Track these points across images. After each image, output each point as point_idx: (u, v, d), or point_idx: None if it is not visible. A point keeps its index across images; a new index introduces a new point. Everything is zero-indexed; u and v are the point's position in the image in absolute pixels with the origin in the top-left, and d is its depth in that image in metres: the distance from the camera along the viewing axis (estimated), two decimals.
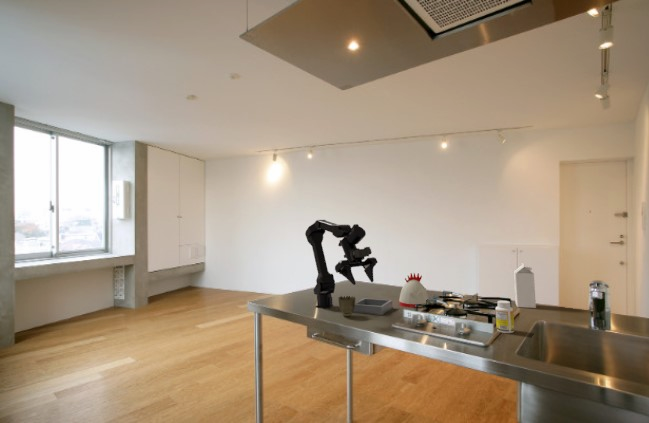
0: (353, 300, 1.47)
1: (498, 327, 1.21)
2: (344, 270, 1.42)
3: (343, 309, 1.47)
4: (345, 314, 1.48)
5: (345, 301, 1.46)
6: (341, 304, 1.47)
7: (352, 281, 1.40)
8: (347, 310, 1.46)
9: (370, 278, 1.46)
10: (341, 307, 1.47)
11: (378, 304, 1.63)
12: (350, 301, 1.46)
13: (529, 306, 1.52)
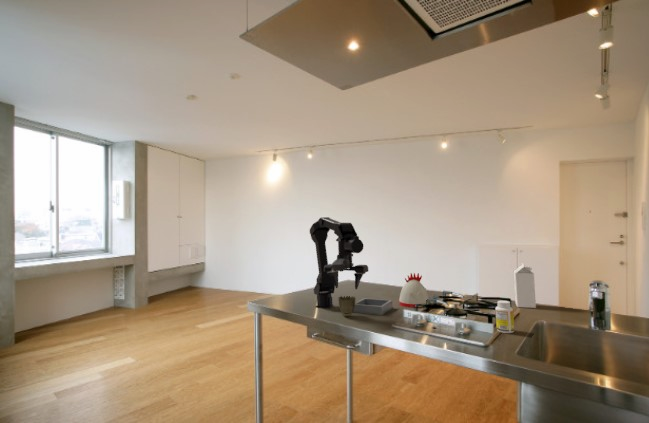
0: (353, 300, 1.47)
1: (498, 327, 1.21)
2: None
3: (343, 309, 1.47)
4: (345, 314, 1.48)
5: (345, 301, 1.46)
6: (341, 304, 1.47)
7: None
8: (347, 310, 1.46)
9: None
10: (341, 307, 1.47)
11: (378, 304, 1.63)
12: (350, 301, 1.46)
13: (529, 306, 1.52)
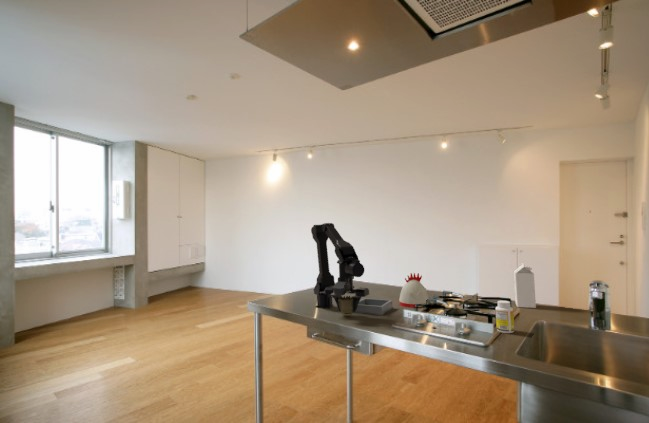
0: None
1: (498, 327, 1.21)
2: None
3: (343, 309, 1.47)
4: (345, 314, 1.48)
5: (345, 301, 1.46)
6: (341, 304, 1.47)
7: None
8: (347, 310, 1.46)
9: None
10: (341, 307, 1.47)
11: (378, 304, 1.63)
12: (350, 301, 1.46)
13: (529, 306, 1.52)
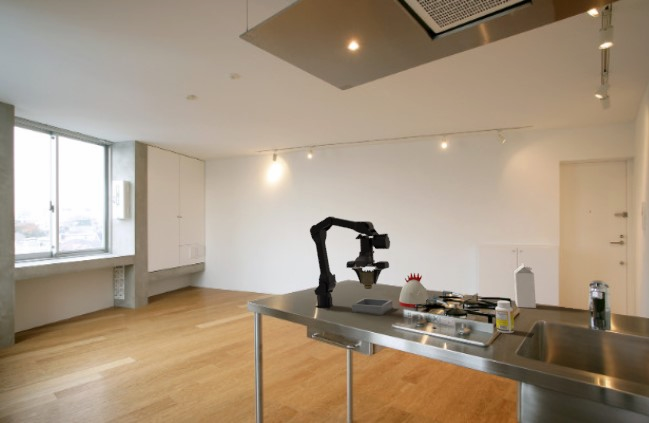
0: None
1: (498, 327, 1.21)
2: None
3: (364, 281, 1.55)
4: (366, 286, 1.56)
5: (366, 273, 1.54)
6: (362, 277, 1.55)
7: None
8: (368, 282, 1.54)
9: None
10: (362, 279, 1.55)
11: (378, 304, 1.63)
12: (371, 274, 1.54)
13: (529, 306, 1.52)
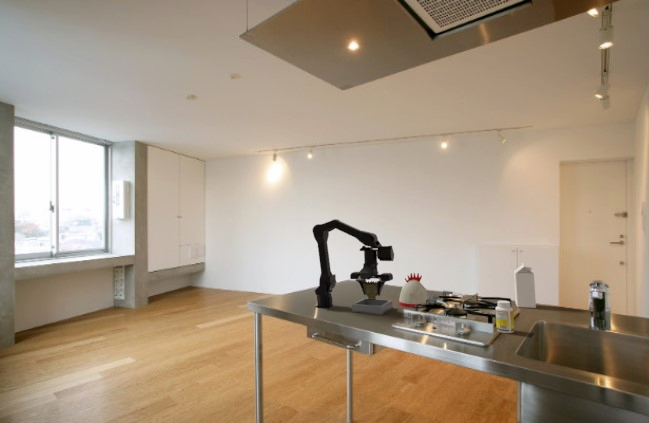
0: None
1: (498, 327, 1.21)
2: None
3: (368, 293, 1.56)
4: (370, 297, 1.57)
5: (370, 285, 1.55)
6: (366, 288, 1.56)
7: None
8: (372, 294, 1.56)
9: None
10: (366, 291, 1.57)
11: (378, 304, 1.63)
12: (375, 285, 1.56)
13: (529, 306, 1.52)
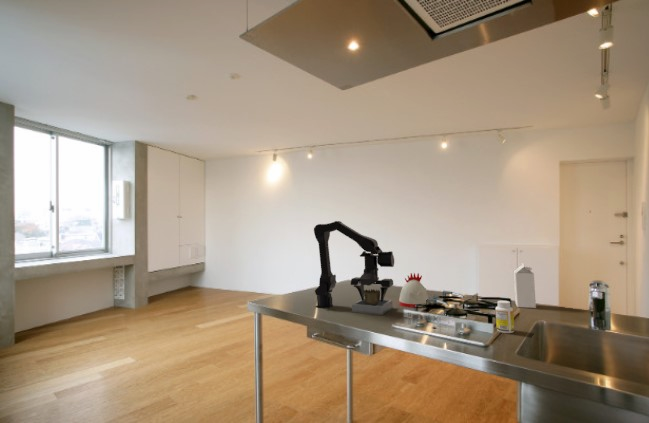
0: (378, 293, 1.56)
1: (498, 327, 1.21)
2: None
3: (369, 301, 1.56)
4: None
5: (371, 294, 1.55)
6: (367, 297, 1.56)
7: None
8: (373, 302, 1.55)
9: None
10: (367, 299, 1.56)
11: (378, 304, 1.63)
12: (375, 294, 1.55)
13: (529, 306, 1.52)
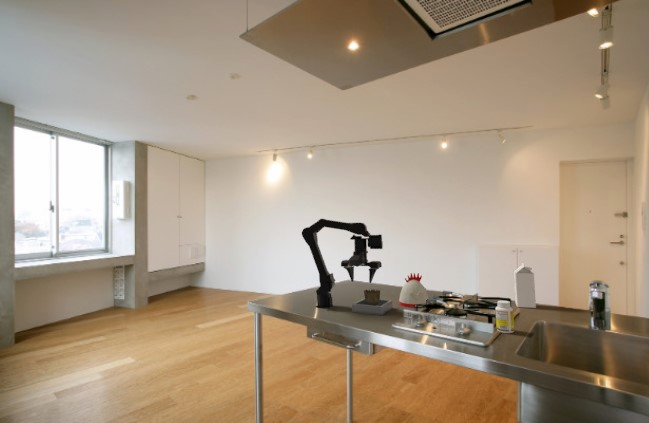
0: (378, 293, 1.56)
1: (498, 327, 1.21)
2: None
3: (369, 301, 1.56)
4: None
5: (371, 294, 1.55)
6: (367, 297, 1.56)
7: None
8: (373, 302, 1.55)
9: None
10: (367, 299, 1.56)
11: (378, 304, 1.63)
12: (376, 294, 1.55)
13: (529, 306, 1.52)
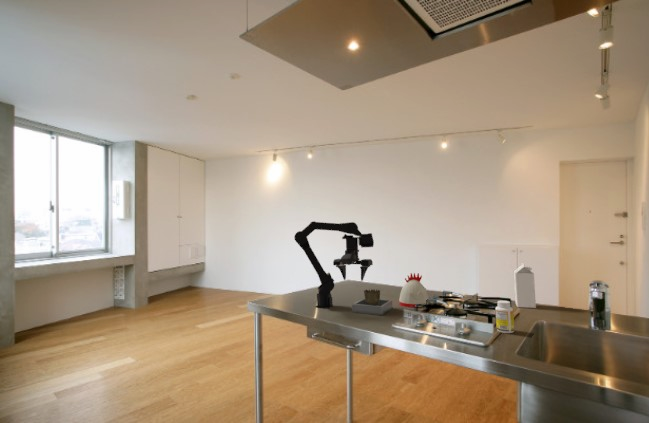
0: (378, 293, 1.56)
1: (498, 327, 1.21)
2: None
3: (369, 301, 1.56)
4: None
5: (371, 294, 1.55)
6: (367, 297, 1.56)
7: None
8: (373, 302, 1.55)
9: None
10: (367, 299, 1.56)
11: (378, 304, 1.63)
12: (376, 294, 1.55)
13: (529, 306, 1.52)
